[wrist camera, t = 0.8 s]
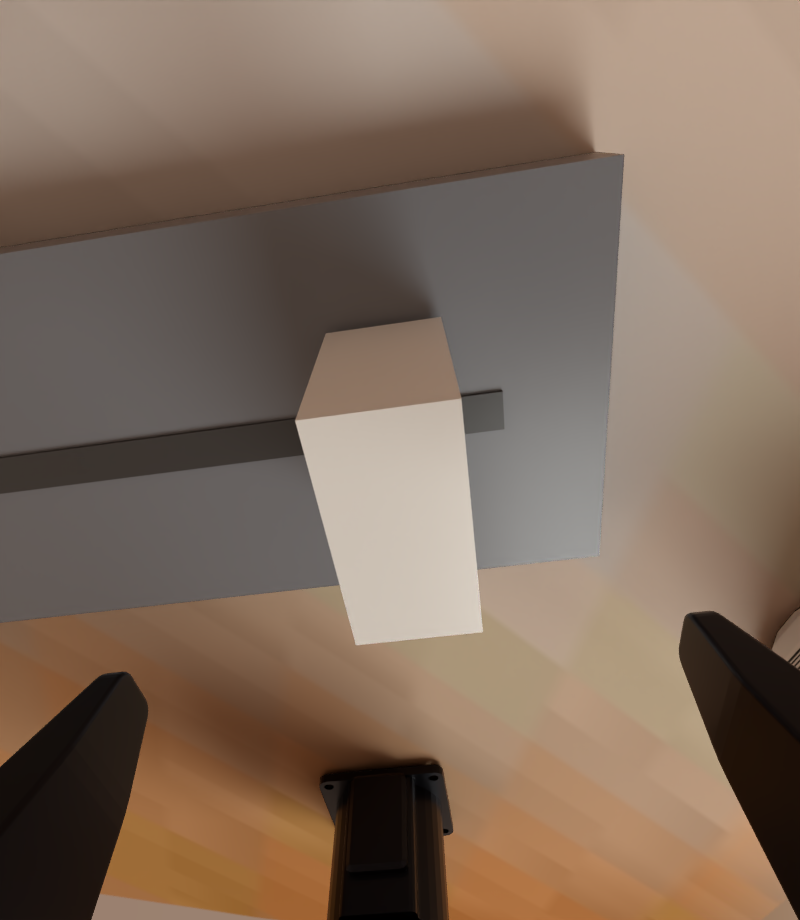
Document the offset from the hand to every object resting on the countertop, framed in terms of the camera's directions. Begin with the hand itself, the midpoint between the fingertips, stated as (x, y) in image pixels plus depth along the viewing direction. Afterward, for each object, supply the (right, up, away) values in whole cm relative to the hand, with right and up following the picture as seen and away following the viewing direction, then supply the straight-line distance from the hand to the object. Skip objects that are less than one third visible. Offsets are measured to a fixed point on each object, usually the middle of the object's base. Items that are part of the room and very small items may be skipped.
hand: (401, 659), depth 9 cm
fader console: (-9, +4, +9) cm, 14 cm away
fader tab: (0, +4, +7) cm, 8 cm away
